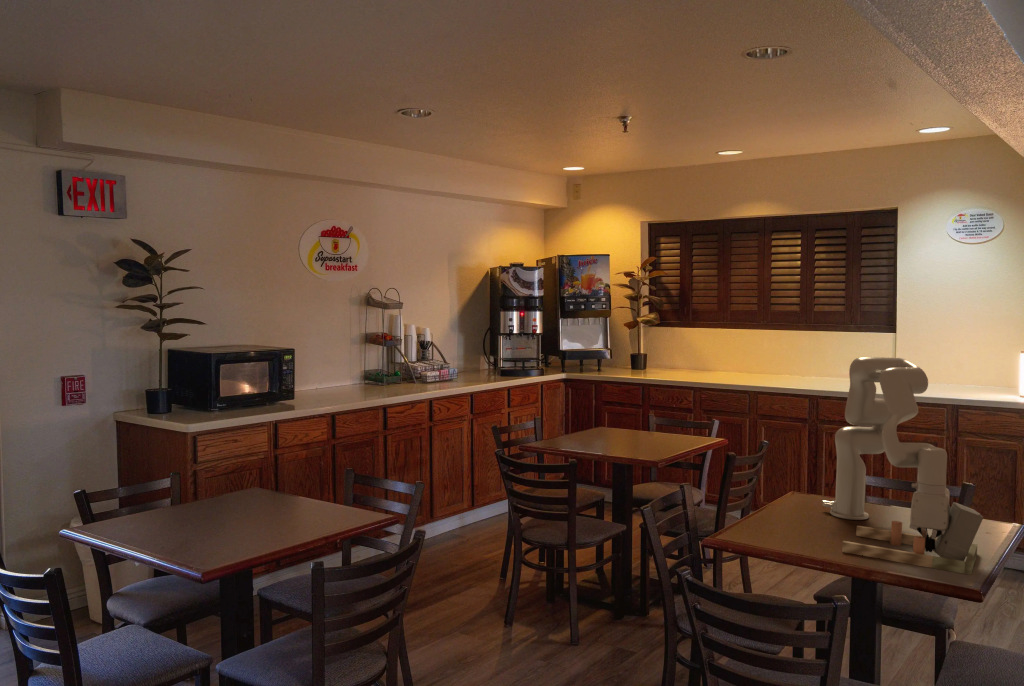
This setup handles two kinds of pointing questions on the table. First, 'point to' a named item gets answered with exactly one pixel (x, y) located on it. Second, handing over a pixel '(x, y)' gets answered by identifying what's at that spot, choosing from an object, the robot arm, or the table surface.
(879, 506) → the table surface
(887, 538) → the lane
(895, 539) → the post
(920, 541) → the post
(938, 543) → the skincare box
